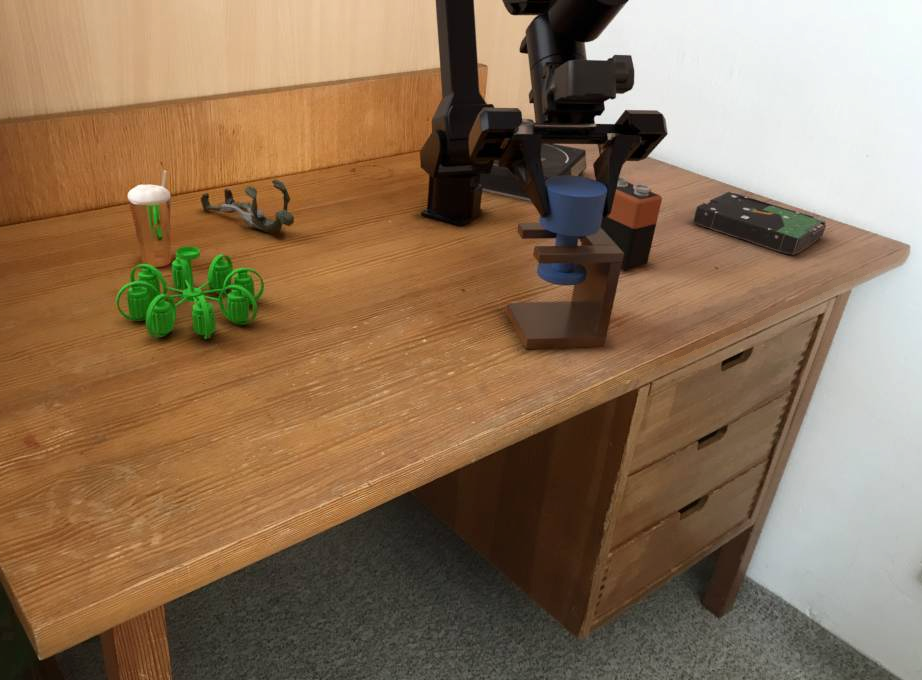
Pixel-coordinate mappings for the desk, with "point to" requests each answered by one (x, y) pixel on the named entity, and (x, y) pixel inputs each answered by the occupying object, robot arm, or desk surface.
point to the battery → (633, 222)
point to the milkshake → (152, 222)
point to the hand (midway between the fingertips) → (576, 215)
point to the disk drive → (760, 222)
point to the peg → (571, 222)
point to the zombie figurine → (254, 209)
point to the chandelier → (190, 294)
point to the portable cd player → (553, 163)
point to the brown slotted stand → (590, 299)
